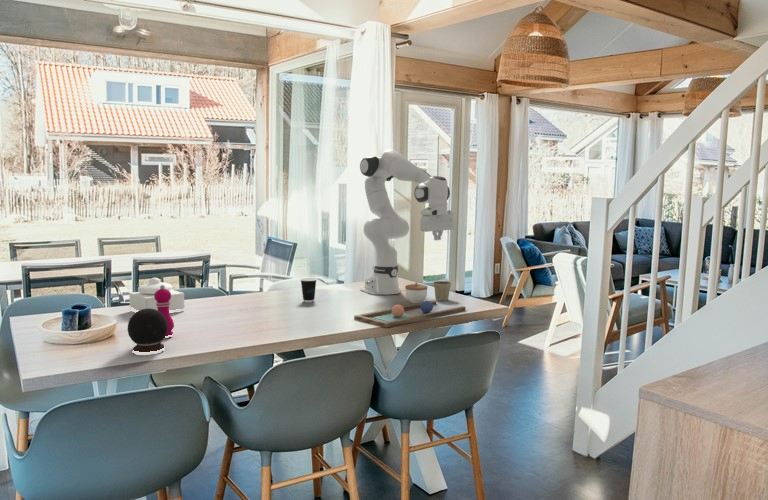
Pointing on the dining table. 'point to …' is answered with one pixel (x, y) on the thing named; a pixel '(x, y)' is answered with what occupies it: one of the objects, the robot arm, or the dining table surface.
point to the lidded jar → (416, 293)
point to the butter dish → (147, 293)
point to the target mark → (390, 317)
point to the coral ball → (398, 311)
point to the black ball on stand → (147, 330)
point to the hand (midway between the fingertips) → (437, 240)
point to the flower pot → (442, 290)
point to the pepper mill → (164, 306)
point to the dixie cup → (308, 289)
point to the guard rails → (367, 318)
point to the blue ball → (426, 306)
